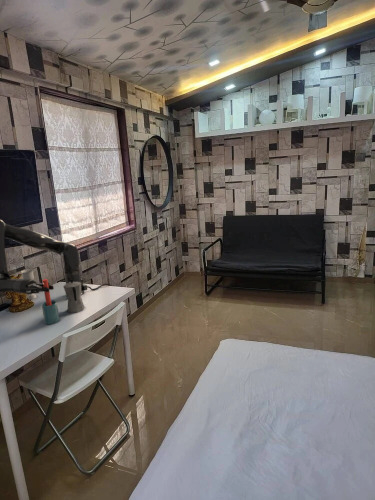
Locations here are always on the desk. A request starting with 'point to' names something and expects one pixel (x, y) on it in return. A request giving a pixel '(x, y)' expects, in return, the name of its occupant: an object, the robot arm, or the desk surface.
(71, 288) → the coffeepot
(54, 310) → the cup
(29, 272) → the chalice
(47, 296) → the red cylindrical rod
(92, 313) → the desk surface
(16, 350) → the desk surface
